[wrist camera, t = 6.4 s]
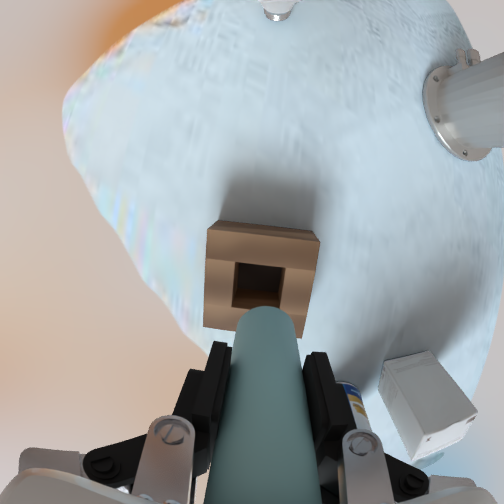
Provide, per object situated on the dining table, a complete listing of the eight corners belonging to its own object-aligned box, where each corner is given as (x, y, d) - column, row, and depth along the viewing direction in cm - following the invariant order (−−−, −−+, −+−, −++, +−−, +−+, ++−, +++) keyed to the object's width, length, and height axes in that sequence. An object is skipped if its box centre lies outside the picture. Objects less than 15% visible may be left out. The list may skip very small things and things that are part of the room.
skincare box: (376, 388, 34) (405, 464, 20) (383, 357, 32) (422, 437, 18) (423, 377, 33) (461, 443, 19) (432, 347, 32) (480, 413, 17)
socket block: (218, 220, 29) (207, 229, 24) (312, 231, 28) (320, 242, 24) (212, 305, 32) (203, 326, 27) (297, 315, 31) (301, 338, 26)
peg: (239, 302, 13) (184, 571, 2) (299, 309, 13) (351, 570, 2) (234, 351, 14) (193, 577, 3) (288, 357, 14) (307, 580, 2)
